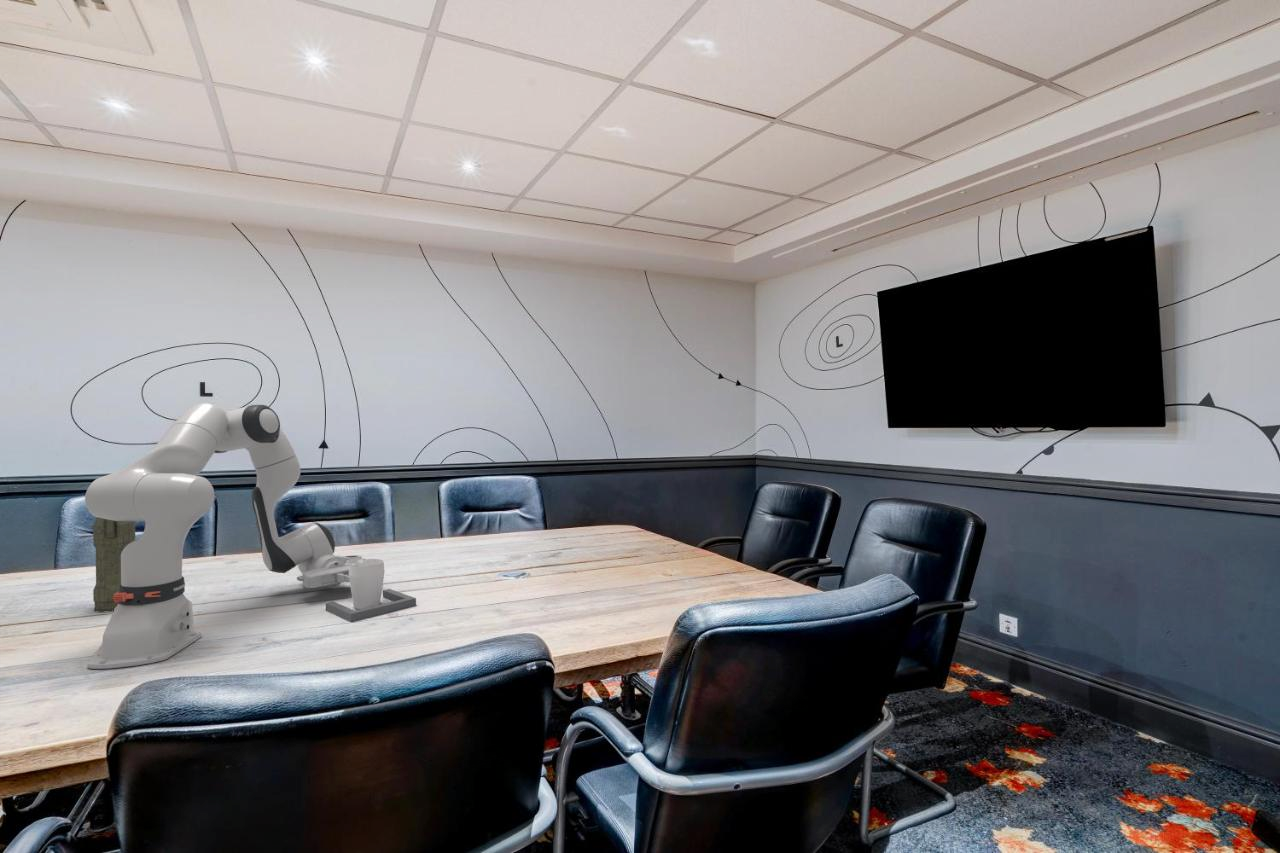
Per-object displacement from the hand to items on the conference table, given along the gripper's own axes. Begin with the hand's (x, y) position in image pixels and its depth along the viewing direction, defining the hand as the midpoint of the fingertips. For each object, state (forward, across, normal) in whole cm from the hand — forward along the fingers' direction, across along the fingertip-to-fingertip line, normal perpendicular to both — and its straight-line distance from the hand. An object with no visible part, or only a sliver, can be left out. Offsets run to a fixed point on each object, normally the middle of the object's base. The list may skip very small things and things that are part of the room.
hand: (352, 578), depth 176 cm
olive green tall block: (-42, -45, +6) cm, 62 cm away
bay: (+11, 0, +6) cm, 13 cm away
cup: (+8, 0, +6) cm, 10 cm away
